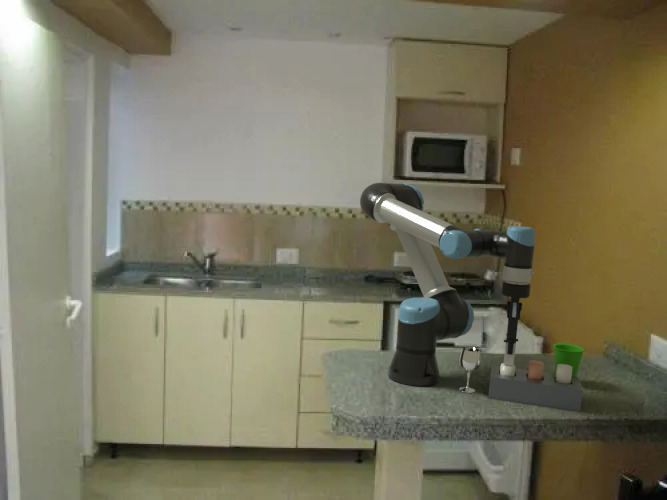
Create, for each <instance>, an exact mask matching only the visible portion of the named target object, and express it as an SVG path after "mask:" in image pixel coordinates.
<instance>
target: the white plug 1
mask: <svg viewBox="0 0 667 500" xmlns="http://www.w3.org/2000/svg"><path fill="white" fill-rule="evenodd" d="M500 366H501V368H500V374H501V375H508V376H514V375H515V368H516V365H515V364H514V366H511V365H504V362H502V363H500Z"/></svg>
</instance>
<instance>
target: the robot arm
mask: <svg viewBox="0 0 667 500" xmlns="http://www.w3.org/2000/svg"><path fill="white" fill-rule="evenodd" d="M359 204H360V208H361V211H362V212H363V214H365V216H366V217H368V218H369V219H372V220H373V221H376V222H377V223H380V224H385V223H387V225H388V227H389V229H390V230H392V231H395V232H396V233H397V236H398V239H399V241H400V243H401V246H402V248H403V250H404V254H405V256H406V258H407V260H408V262H409V265H410V267H411V269H412V273H413V274H414V276H415V277H414V278H415V279H416V281H417V282H416V283H417V284H418V286H419V289H420V291H421V294H422V295H423V297H411V298H407V299H405V300H403V301H402V302H401V303H400V305H399V310H398V315H397V318H398V319H397V331H396V344H395V345H396V348H395V352H394V354H393V357H392V359H391V360H390V363H389V365H388V369H387V371H388V372H387V373H388V374H387V376H388V378H389V379H390V380H392V381H394V382H397V383H400V384H402V385H403V384H404V385H408V386H418V387H423V386H425V387H426V386H427V387H428V386H431V385H432V386H433V385H436V384H438V383H439V382H440V368H439V365H438V361H437V357H436V356H437V355H436V353H437V351H436V350H437V342H438V341H443V340H449V339H457V338H459V337H461V336H465V335H466V334H467V333H469V331H470V330H471V328H473V323H474V320H475V313H474V308H473V306H472V305H471V303H470V302H469V301H468V300H466V299H464V298H460V295H459V292H458V291H457V289H456V288H453V287H452V286H450V285H449V283H448V280H447V278H446V276H445V273H444V271H443V268H442V267H441V264H440V263H439V260H438V257H437V255H436V253H435V251H434V248H433V246H434V247H436V248H439V249H440V252H441V253H442V255H444V256H445V257H446V258H449V259H457V260H460V259H466V258H467V259H468V258H482V257H484V258H485V257H493V258H499V259H504V264H503V273H502V280H503V282H502V283H501V284H502V287H501V295H502V296H504V297H506V298H507V297H509V298H510V301H508V300H507V301H506V303H507V304H506V309H507V312H506V318H507V330H506V334H505V335H506V336H505V339H503V342H504V343H505V346H504V347H505V348H504V357H503V363H504V365H511V366H514V365H515V357H516V356H515V355H516V346H517V345H516V344H517V342H519V338H517V336H518V335H517V333H518V327H519V326H518V325H519V324H518V323H519V320H520V319H521V311H522V308H523V303H522V302H520V299H527V298H530V295H531V284H530V283H531V282H532V276H533V275H535V272H534V271H532V270H533V261H534V252H535V246H536V231H535V228H533V227H529V226H519V225H509V226H508V228H507V231H499V230H494V229H493V230H492V229H489V228H488V229H487V228H475V229H474V230H471V229H469V230H466V229H464V228H463V229H462V228H460V227H458V226H455V225H454V224H452V223H449V222H447V221H444V220H442V219H440V218H438V217H435V216H433V215H432V214H429V213H427V212H425V211H424V204H425V200H424V196H423V194H422V193H421V191H420V190H419V189H418V187H416V186H414V185H411V184H408V183H390V182H375V183H372V184H370V185H368V186H367V187H366V188H364V189H363V191H362V193H361V195H360V199H359Z"/></svg>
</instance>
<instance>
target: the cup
mask: <svg viewBox="0 0 667 500" xmlns="http://www.w3.org/2000/svg"><path fill="white" fill-rule="evenodd" d="M552 347H553V350H554V351H553V353H554V369H555V370H554V371H555V373H556V371H557V364H566V365H570V366H572V376H576V377H577V373H578V370H579V366H580V363H581V360H582V358H583V357H582V356H583V353H584V352H585V348H584V347H581V346H580V345H575V344H571V343H554V344H553V345H552Z"/></svg>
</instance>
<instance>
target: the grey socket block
mask: <svg viewBox="0 0 667 500" xmlns="http://www.w3.org/2000/svg"><path fill="white" fill-rule="evenodd" d="M490 367H491V369H490V379H489V389H488V398H489V399H493V400H494V399H495V400H500V401H507V402H514V403H522V404H526V405H527V404H528V405H533V404H534V406H540V405H541V407H546V406H548V407H547V408H553V409H561V410H567V411H568V410H569V411H573V412H574V411H575V412H581V406H582V399H583V392H584V390H583V387H582V384H581V380H580V378H579V376H577V375H576V376H571V384H565V383H558V382H555V380H556V373H552V372H544V371H543V377H542V380H537V379H530V378H527V376H528V369H524V368H517V367H515V375H514V376H508V375H501V374H500V368H501V365H495V364H491V366H490Z"/></svg>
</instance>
